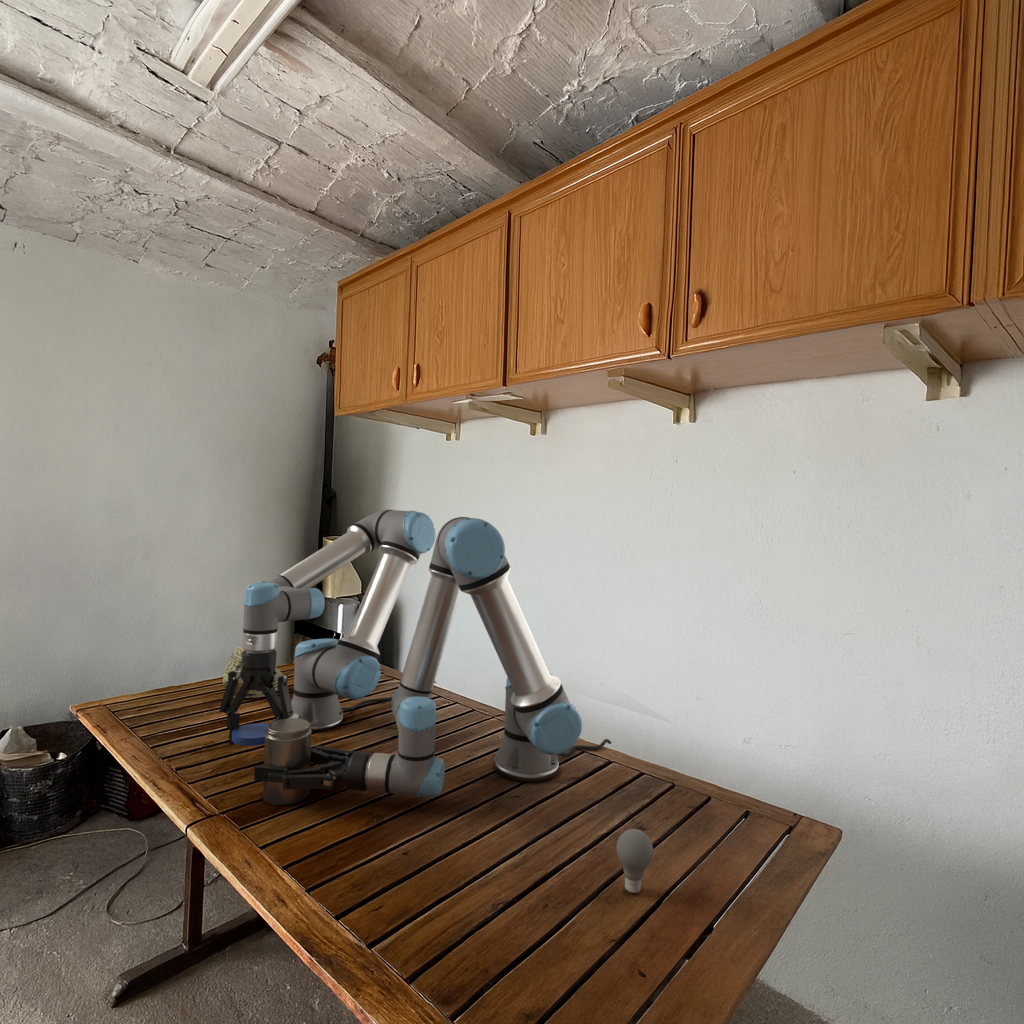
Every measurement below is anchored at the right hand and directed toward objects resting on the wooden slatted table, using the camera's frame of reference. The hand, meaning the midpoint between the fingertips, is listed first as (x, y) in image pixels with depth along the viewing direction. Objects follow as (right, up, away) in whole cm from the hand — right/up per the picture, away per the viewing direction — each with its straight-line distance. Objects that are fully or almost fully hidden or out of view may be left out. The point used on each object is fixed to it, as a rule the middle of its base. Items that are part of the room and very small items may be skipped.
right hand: (267, 762), depth 134 cm
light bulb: (+72, -10, -29) cm, 78 cm away
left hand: (-8, -1, +13) cm, 16 cm away
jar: (+4, -7, 0) cm, 8 cm away
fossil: (-29, -4, +64) cm, 70 cm away
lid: (-8, +2, +13) cm, 16 cm away
